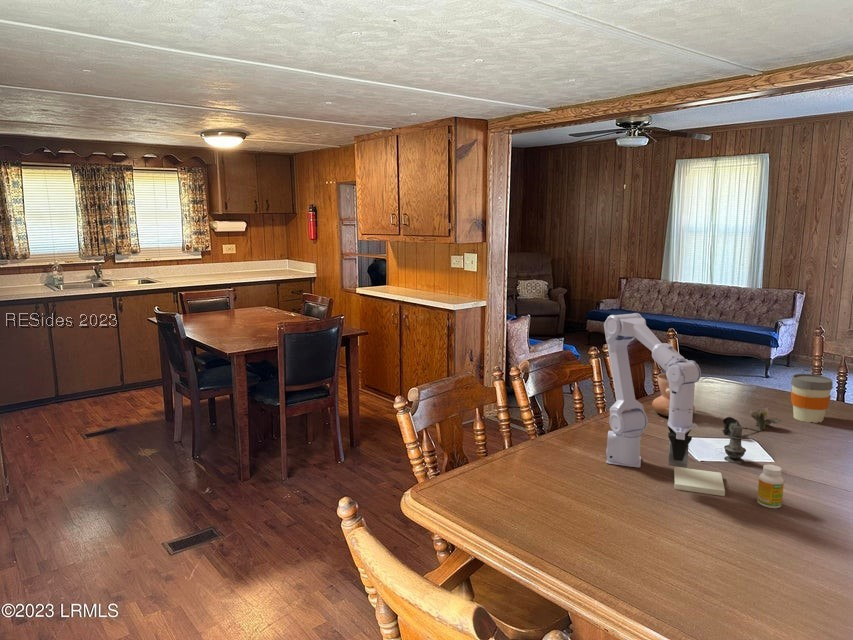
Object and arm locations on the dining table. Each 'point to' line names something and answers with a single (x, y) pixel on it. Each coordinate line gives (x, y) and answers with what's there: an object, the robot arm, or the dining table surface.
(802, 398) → the reusable coffee cup
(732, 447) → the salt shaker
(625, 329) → the robot arm
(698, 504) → the dining table surface
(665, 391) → the ceramic jug
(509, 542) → the dining table surface
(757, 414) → the artificial flower
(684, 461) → the slate block
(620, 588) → the dining table surface
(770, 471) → the supplement bottle
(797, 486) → the dining table surface
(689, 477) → the cream square slab
